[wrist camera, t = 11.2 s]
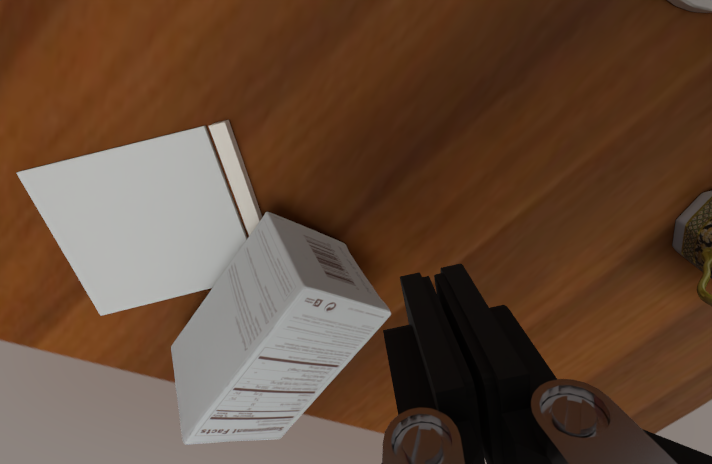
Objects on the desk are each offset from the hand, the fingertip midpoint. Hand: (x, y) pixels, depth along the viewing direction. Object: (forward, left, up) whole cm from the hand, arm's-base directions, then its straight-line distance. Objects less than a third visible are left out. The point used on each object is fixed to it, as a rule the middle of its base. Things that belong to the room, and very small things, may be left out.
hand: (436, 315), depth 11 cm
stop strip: (+8, 0, -18) cm, 19 cm away
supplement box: (+3, +4, -13) cm, 14 cm away
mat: (+15, 0, -18) cm, 23 cm away
